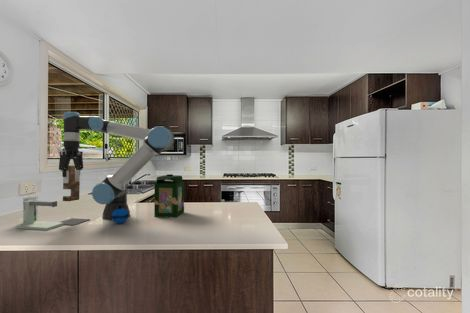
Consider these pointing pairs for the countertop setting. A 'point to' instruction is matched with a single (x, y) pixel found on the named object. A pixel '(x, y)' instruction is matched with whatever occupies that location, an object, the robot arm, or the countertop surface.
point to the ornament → (119, 215)
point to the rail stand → (30, 217)
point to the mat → (74, 221)
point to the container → (169, 196)
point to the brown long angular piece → (72, 185)
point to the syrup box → (34, 198)
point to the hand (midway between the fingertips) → (71, 182)
